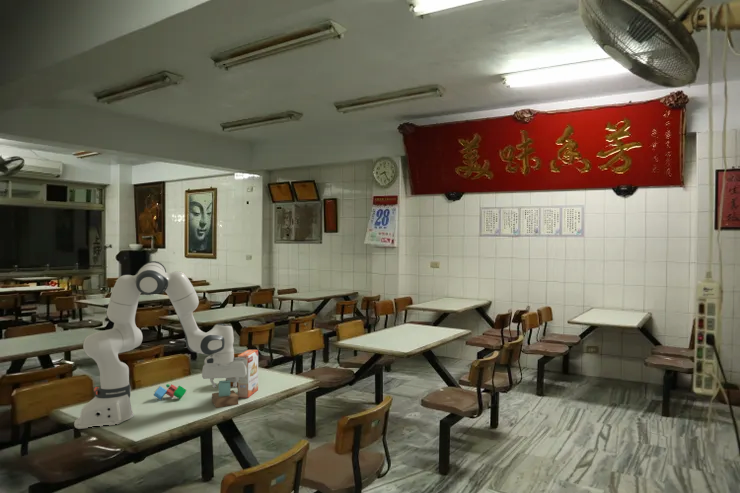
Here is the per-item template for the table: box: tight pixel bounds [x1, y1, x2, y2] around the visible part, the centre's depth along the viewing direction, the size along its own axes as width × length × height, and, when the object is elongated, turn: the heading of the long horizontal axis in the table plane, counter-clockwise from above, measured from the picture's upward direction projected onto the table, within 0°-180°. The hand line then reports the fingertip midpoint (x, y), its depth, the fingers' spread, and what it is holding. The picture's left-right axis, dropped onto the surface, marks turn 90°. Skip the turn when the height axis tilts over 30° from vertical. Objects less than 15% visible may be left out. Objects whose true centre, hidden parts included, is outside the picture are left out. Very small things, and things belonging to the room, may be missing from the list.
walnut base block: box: [211, 389, 239, 409], centre depth 232 cm, size 10×10×4 cm
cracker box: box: [237, 349, 259, 399], centre depth 246 cm, size 14×6×21 cm, turn 173°
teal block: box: [218, 379, 231, 397], centre depth 232 cm, size 5×5×6 cm
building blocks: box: [153, 383, 187, 400], centre depth 239 cm, size 8×8×12 cm
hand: (224, 387), depth 232 cm, fingers open, 8 cm apart
